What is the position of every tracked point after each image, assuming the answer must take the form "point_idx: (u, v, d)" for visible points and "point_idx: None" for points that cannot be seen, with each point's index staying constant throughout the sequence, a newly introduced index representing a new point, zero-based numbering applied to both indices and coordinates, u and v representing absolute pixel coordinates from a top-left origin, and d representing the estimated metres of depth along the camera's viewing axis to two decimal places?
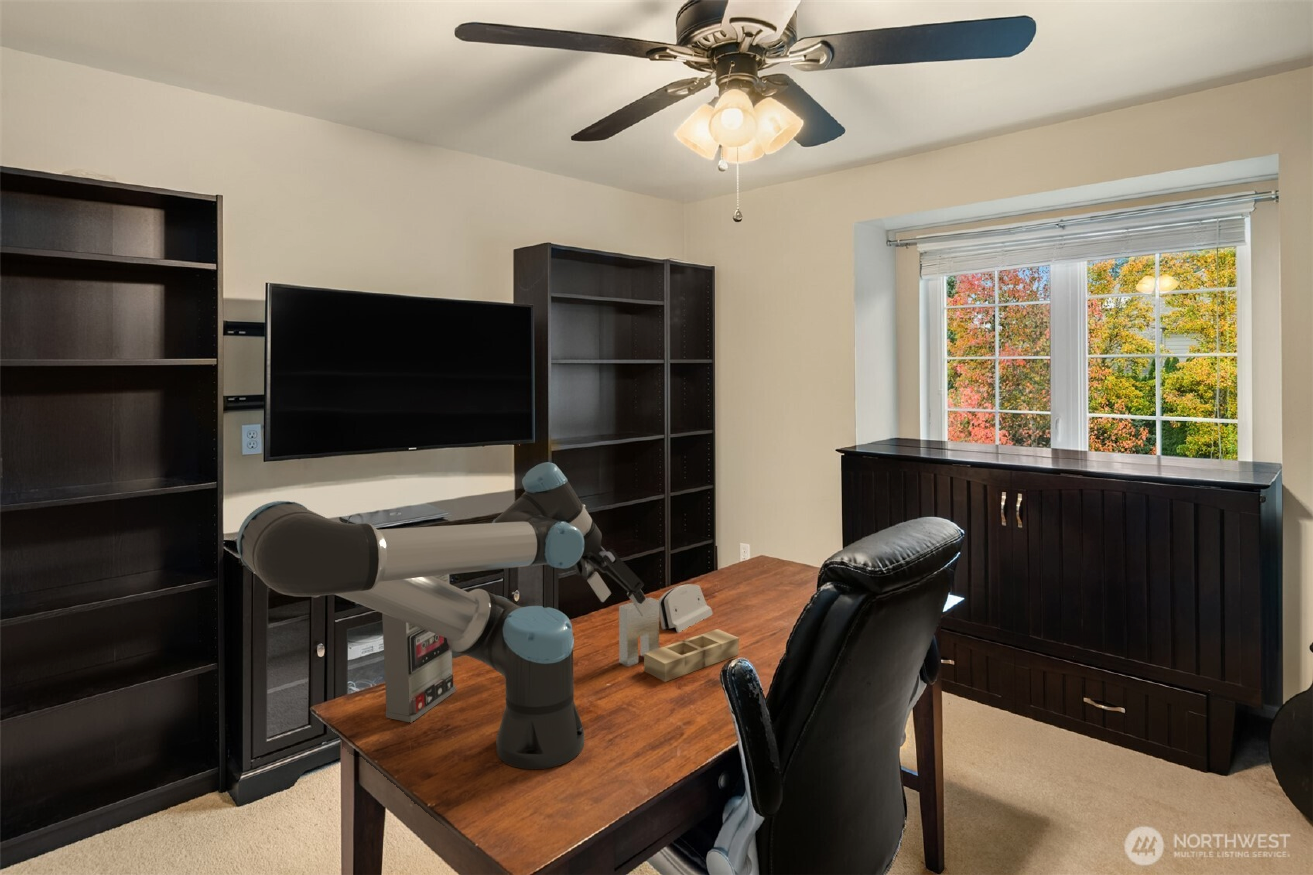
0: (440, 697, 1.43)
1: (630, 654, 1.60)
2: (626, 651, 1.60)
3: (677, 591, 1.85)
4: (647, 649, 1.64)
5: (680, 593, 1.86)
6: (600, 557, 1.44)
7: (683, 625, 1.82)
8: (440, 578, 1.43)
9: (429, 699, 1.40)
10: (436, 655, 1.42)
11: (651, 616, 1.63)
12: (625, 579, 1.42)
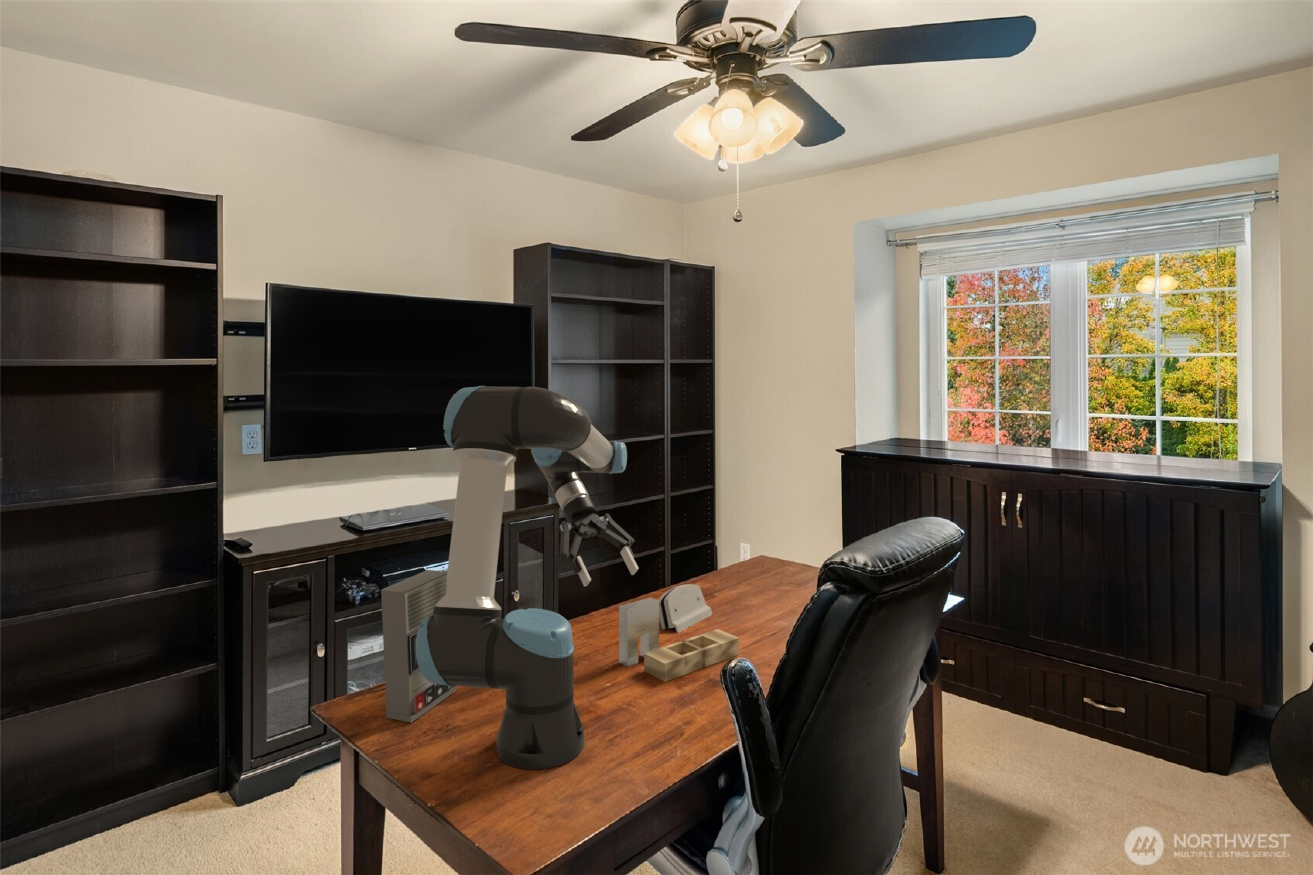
0: (440, 697, 1.43)
1: (630, 654, 1.60)
2: (626, 651, 1.60)
3: (677, 591, 1.85)
4: (647, 649, 1.64)
5: (680, 592, 1.86)
6: None
7: (682, 625, 1.82)
8: (440, 578, 1.43)
9: (429, 699, 1.40)
10: None
11: (651, 616, 1.63)
12: None
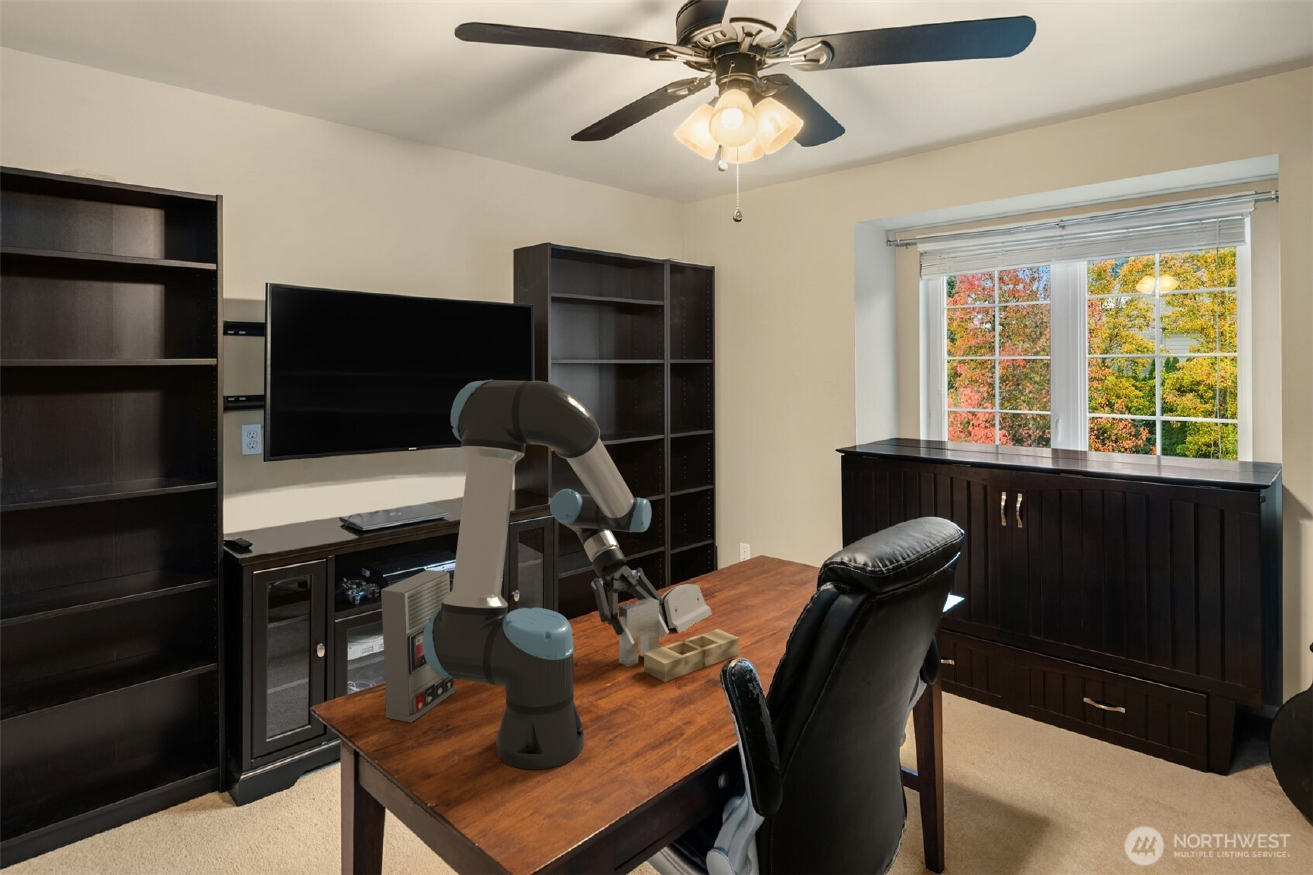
0: (440, 697, 1.43)
1: (630, 654, 1.60)
2: (626, 651, 1.60)
3: (677, 591, 1.85)
4: (647, 649, 1.64)
5: (680, 593, 1.86)
6: (632, 571, 1.71)
7: (683, 625, 1.82)
8: (440, 578, 1.43)
9: (429, 699, 1.40)
10: None
11: (651, 616, 1.63)
12: None
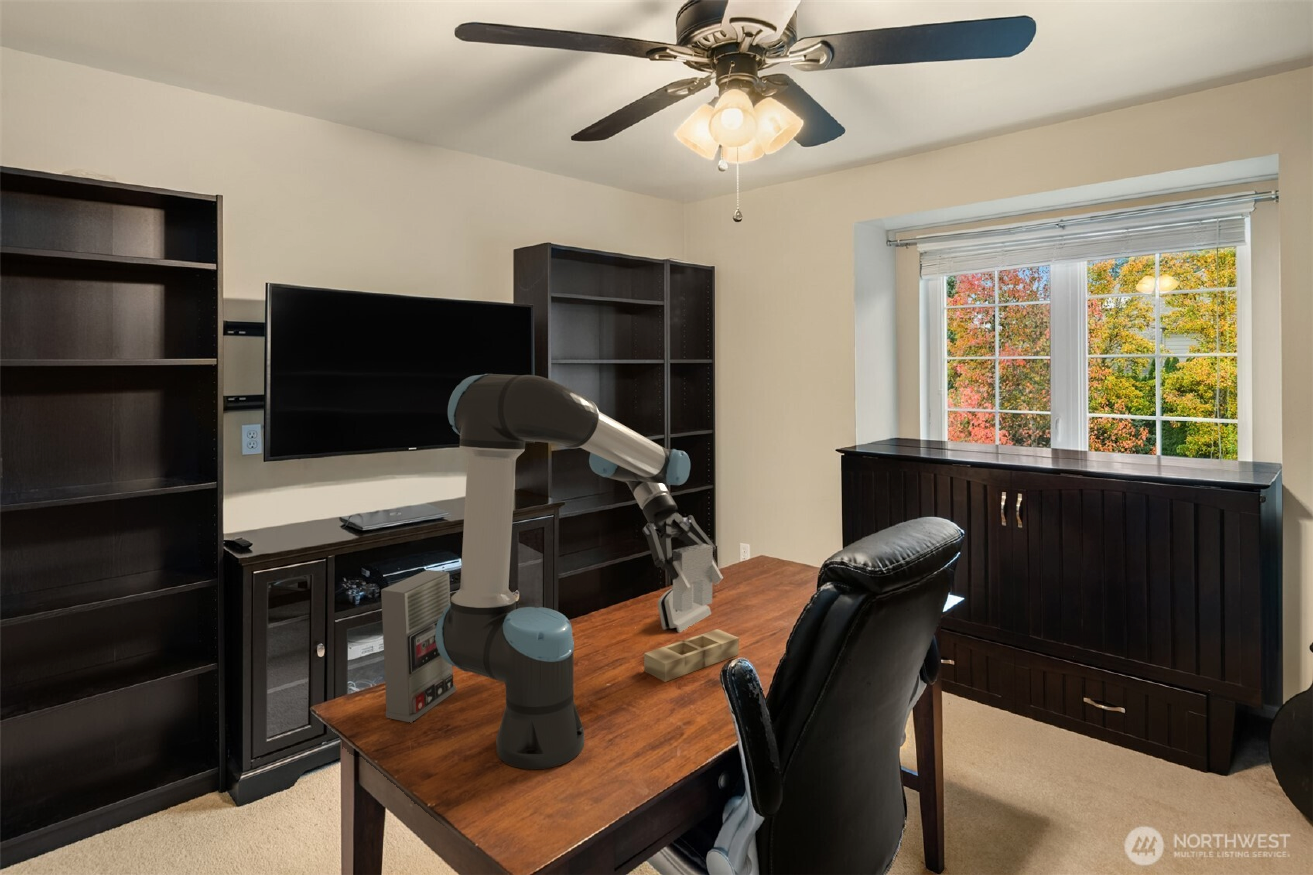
0: (440, 697, 1.43)
1: (685, 599, 1.57)
2: (680, 596, 1.57)
3: None
4: (701, 595, 1.61)
5: None
6: None
7: (683, 625, 1.82)
8: (440, 578, 1.43)
9: (429, 699, 1.40)
10: (436, 656, 1.42)
11: (705, 562, 1.60)
12: None
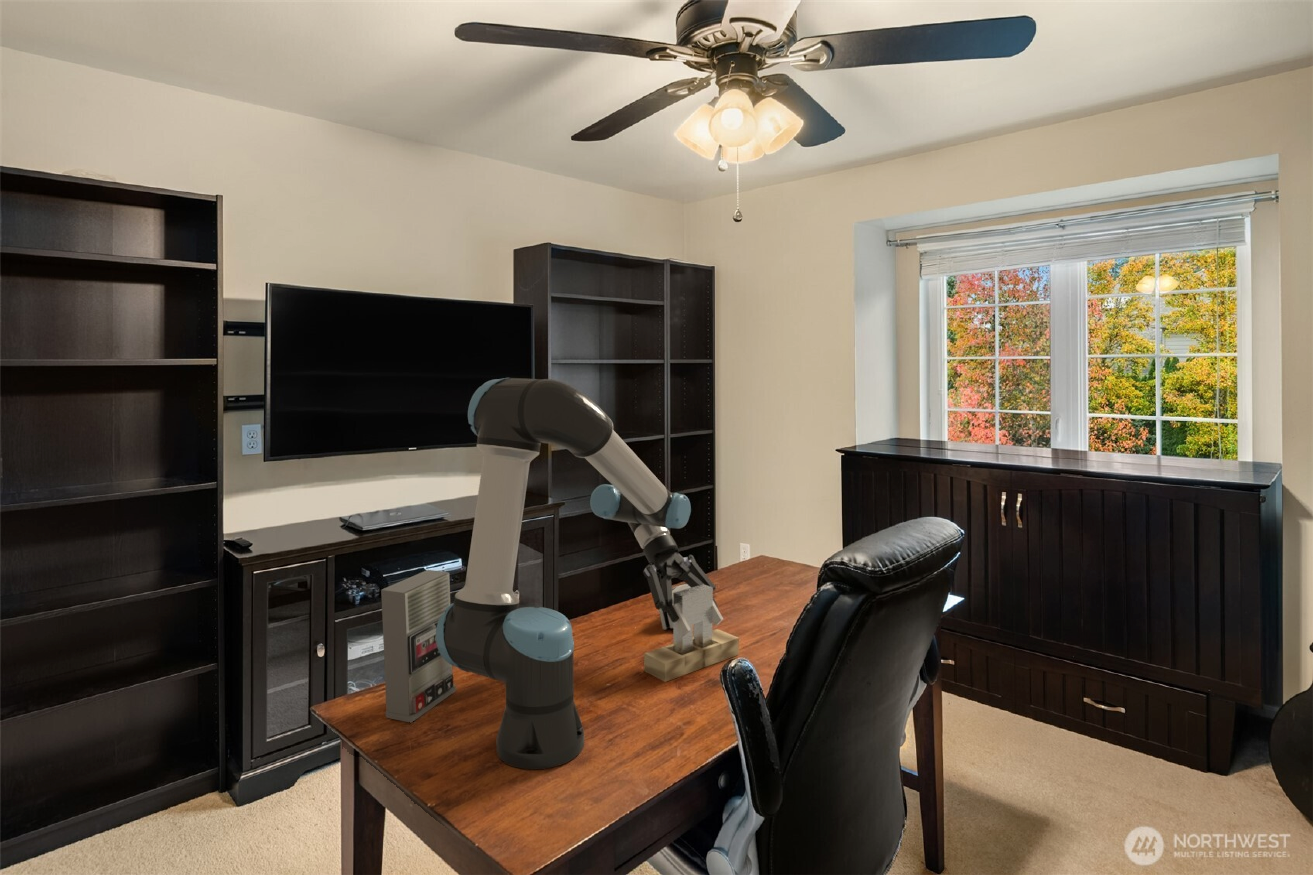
0: (440, 697, 1.43)
1: (685, 641, 1.58)
2: (681, 638, 1.58)
3: None
4: (701, 636, 1.62)
5: None
6: None
7: None
8: (440, 578, 1.43)
9: (429, 699, 1.40)
10: (436, 656, 1.42)
11: (705, 603, 1.61)
12: None
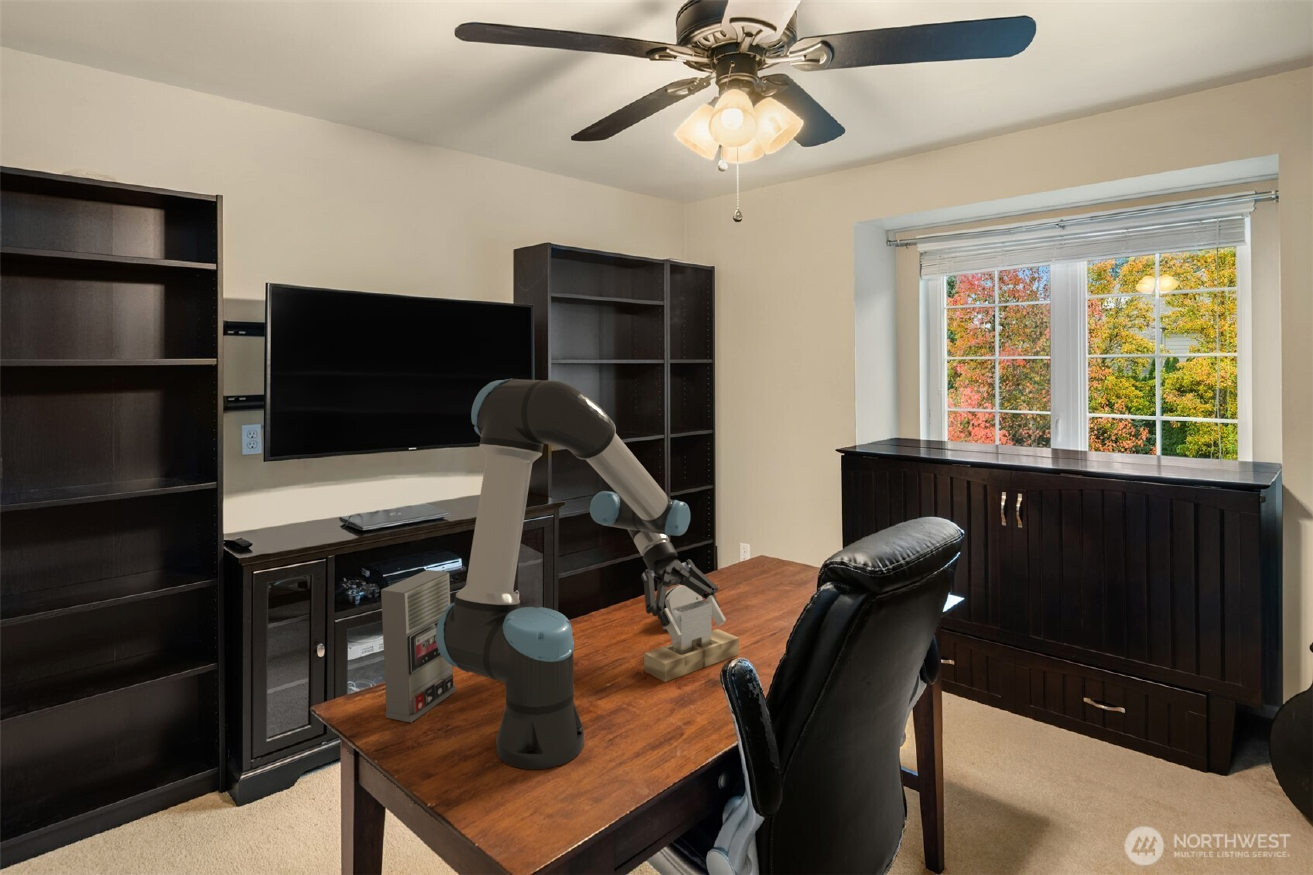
0: (440, 697, 1.43)
1: None
2: (680, 654, 1.58)
3: (677, 591, 1.86)
4: None
5: (680, 592, 1.86)
6: None
7: None
8: (440, 578, 1.43)
9: (429, 699, 1.40)
10: (435, 656, 1.42)
11: (704, 619, 1.61)
12: None
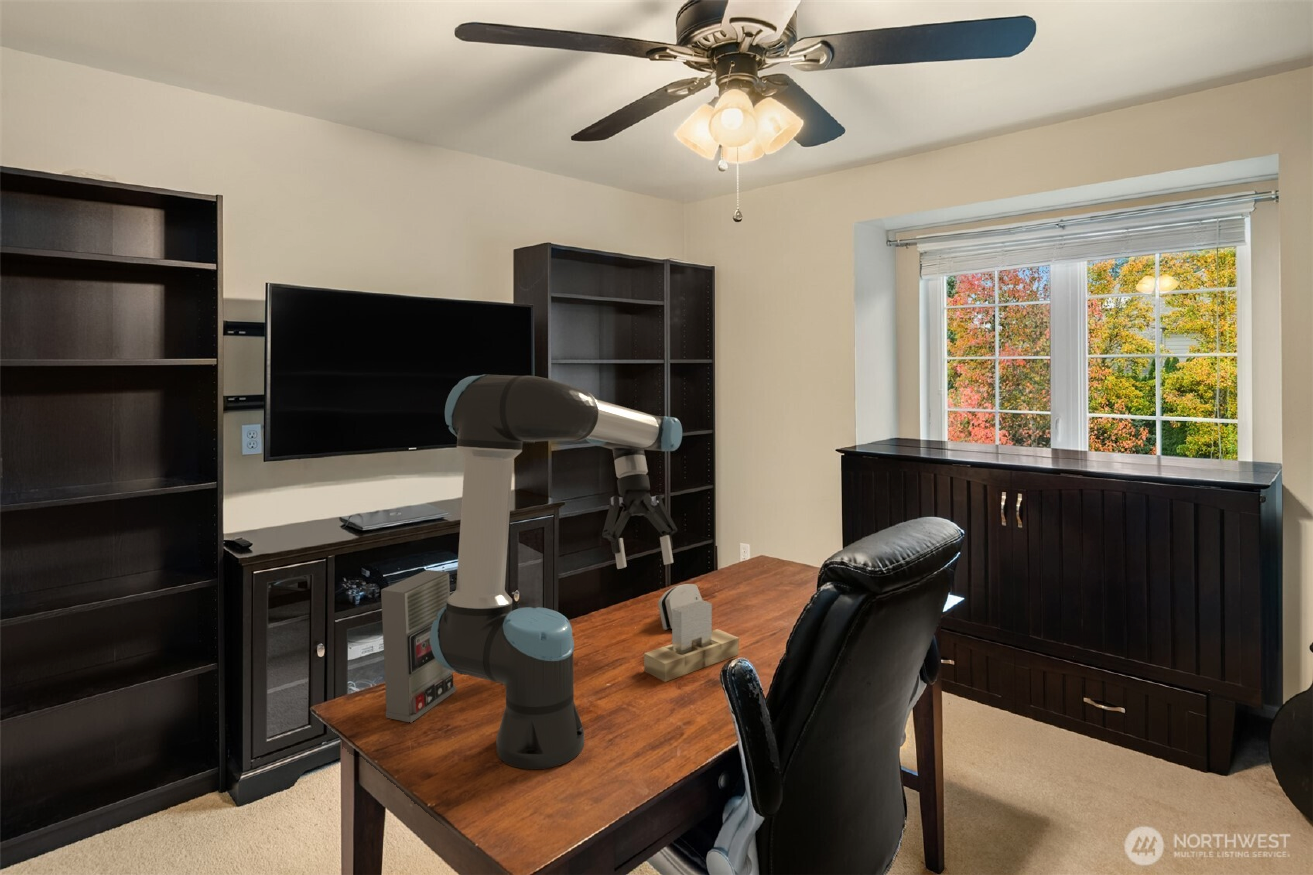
0: (440, 697, 1.43)
1: None
2: (680, 654, 1.58)
3: (677, 591, 1.86)
4: None
5: (680, 592, 1.86)
6: None
7: None
8: (440, 578, 1.43)
9: (429, 699, 1.40)
10: None
11: (704, 619, 1.61)
12: None
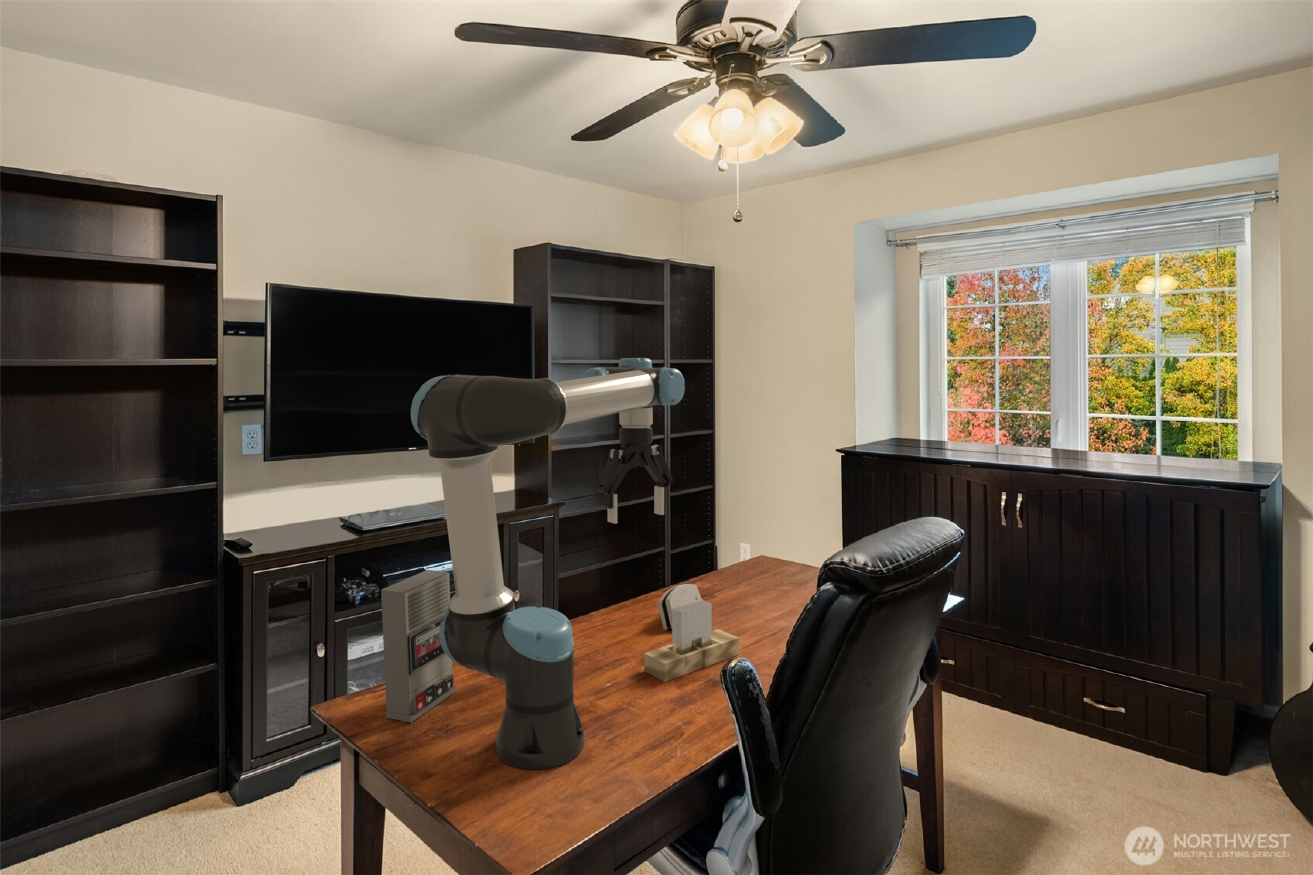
0: (440, 697, 1.43)
1: None
2: (680, 654, 1.58)
3: (677, 591, 1.85)
4: None
5: (680, 592, 1.86)
6: (652, 450, 1.68)
7: None
8: (440, 578, 1.43)
9: (429, 699, 1.40)
10: (436, 655, 1.42)
11: (704, 619, 1.61)
12: None
